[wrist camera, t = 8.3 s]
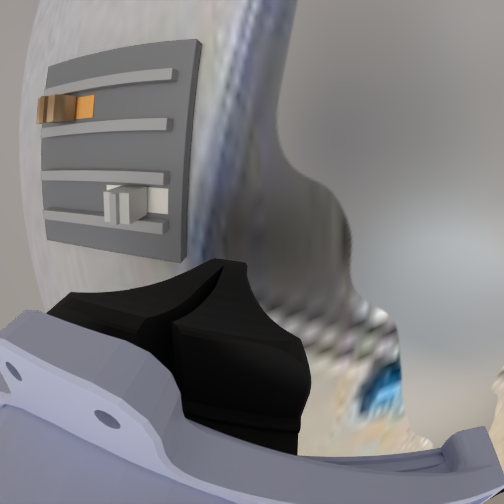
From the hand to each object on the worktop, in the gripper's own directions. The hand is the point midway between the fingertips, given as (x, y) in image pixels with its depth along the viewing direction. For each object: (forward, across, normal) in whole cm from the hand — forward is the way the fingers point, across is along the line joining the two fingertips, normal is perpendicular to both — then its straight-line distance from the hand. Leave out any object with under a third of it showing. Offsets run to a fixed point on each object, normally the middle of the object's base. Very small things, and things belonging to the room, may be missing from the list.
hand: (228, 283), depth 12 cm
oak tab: (+8, +16, -8) cm, 19 cm away
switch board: (+9, +12, -4) cm, 16 cm away
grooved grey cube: (+8, +9, -1) cm, 12 cm away
